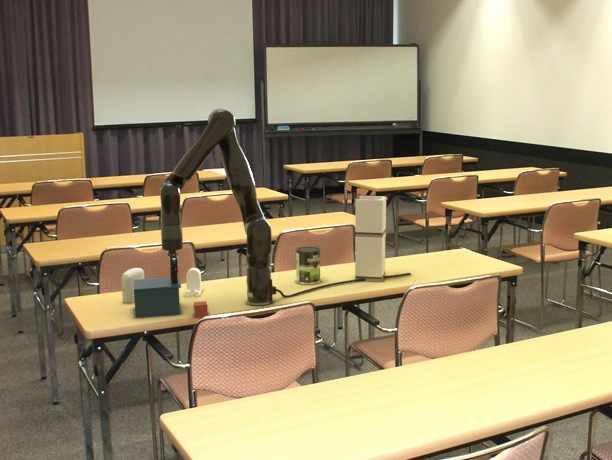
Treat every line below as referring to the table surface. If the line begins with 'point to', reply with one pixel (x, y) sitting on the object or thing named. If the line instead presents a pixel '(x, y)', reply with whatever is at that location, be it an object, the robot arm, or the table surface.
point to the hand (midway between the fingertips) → (174, 281)
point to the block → (200, 309)
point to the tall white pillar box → (370, 238)
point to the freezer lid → (155, 284)
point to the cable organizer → (193, 282)
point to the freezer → (157, 302)
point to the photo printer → (130, 283)
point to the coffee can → (308, 265)
